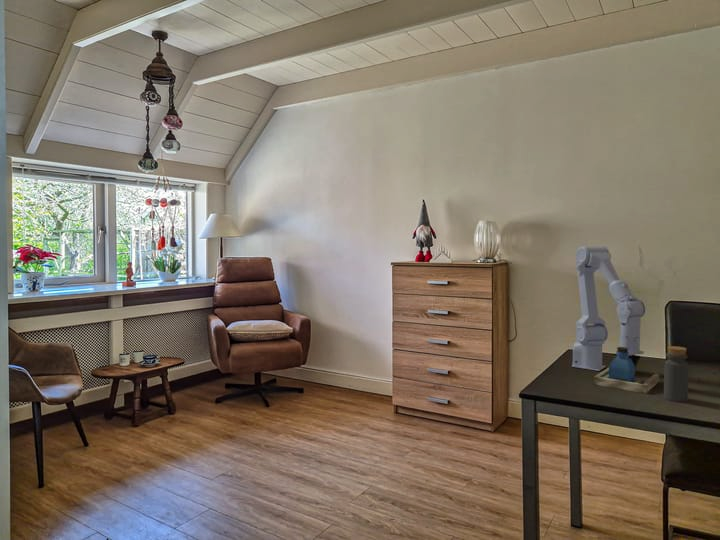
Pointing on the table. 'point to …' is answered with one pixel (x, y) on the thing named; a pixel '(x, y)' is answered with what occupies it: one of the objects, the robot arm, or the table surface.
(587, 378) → the table surface
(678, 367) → the bottle
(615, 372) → the perfume bottle
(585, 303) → the robot arm
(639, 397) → the table surface
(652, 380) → the walled pen
